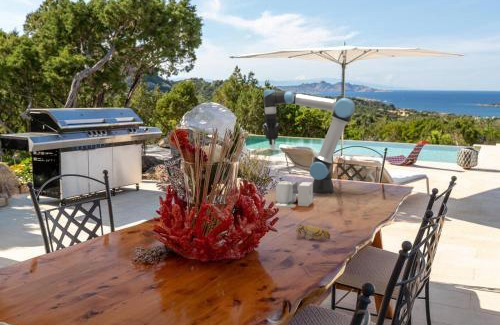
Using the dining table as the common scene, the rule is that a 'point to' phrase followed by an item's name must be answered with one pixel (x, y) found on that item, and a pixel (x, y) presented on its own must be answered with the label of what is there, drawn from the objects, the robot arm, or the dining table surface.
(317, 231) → the crab model
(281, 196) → the candle holder
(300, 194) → the gauge housing
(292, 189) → the gauge plunger
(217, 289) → the dining table surface
